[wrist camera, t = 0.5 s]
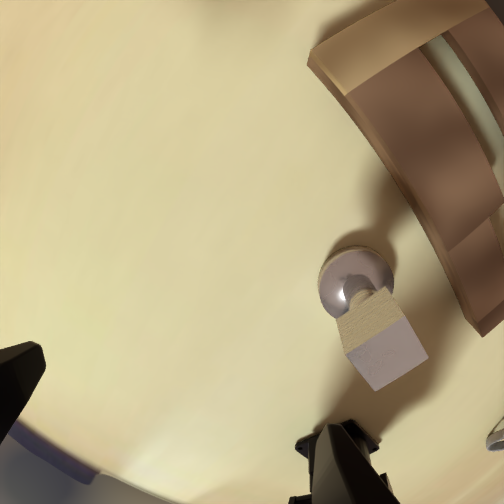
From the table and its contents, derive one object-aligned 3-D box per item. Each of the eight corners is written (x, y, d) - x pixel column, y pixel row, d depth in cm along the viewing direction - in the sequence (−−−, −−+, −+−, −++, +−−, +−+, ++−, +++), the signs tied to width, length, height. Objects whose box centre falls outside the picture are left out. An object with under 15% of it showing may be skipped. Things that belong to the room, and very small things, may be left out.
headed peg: (400, 286, 20) (451, 357, 12) (342, 326, 21) (365, 411, 13) (365, 230, 19) (414, 283, 11) (302, 275, 20) (312, 351, 12)
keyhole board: (563, 221, 16) (583, 230, 14) (465, 318, 20) (482, 337, 17) (444, -13, 12) (461, -28, 10) (306, 64, 16) (310, 49, 13)
